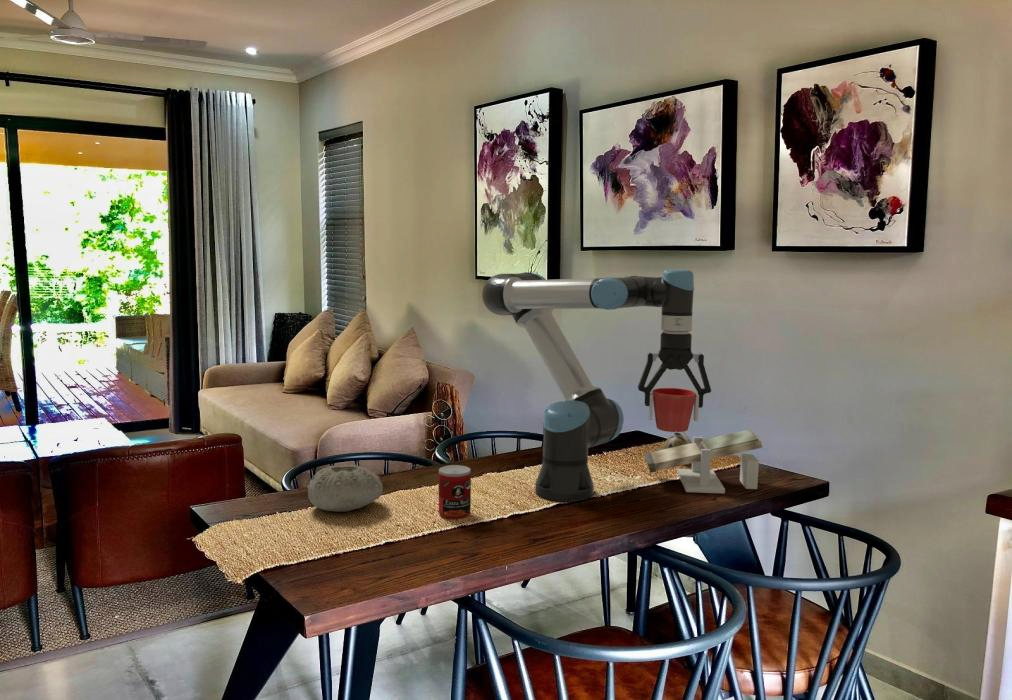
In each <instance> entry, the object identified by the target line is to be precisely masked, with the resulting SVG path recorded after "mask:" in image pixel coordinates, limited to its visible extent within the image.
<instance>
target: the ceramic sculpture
mask: <svg viewBox="0 0 1012 700" xmlns="http://www.w3.org/2000/svg"><path fill="white" fill-rule="evenodd" d="M690 443H692V441H691V439H690V437H689V436H688V435H687V434H686V431H685V432H673V434H672V435H671V436H670V437H668V438H667V439H666V440H665V441H664V444H663V446H662V447H658V448H657V449H656V450H655V451H659V450H663V449H668V448H672V447H677V446H681V445H686V444H690Z"/></svg>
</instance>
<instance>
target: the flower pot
mask: <svg viewBox="0 0 1012 700" xmlns="http://www.w3.org/2000/svg"><path fill="white" fill-rule="evenodd" d="M651 392H652V393H653V411H654V417H655V418H654V419H655V425H656V428H657V430H659V431H663V432H667V433H682V432H685V433H686V431H688V430H689V426H690V423H691V418H692V415H693V411H694V401H695V396H696V394H697V392H696V391H694V390H690V389H686V388H679V387H659V388H653V389H652V391H651Z"/></svg>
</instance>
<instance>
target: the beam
mask: <svg viewBox="0 0 1012 700" xmlns="http://www.w3.org/2000/svg"><path fill="white" fill-rule="evenodd" d="M762 448H763V444H762V440H761V439H760V437H758V435H756V434H755V433H754V432H753V431H752V430H751V429H745V430H741V431H735V432H733V433H732V432H731V433H728V434H722V435H719V436H714V437H710V438H705V439H704V438H703V441H697V442H695V443H693V442H691V443H690V444H686V445H681V446H677V447H672V448H668V449H663V450H659V451H656V450H655V451H647V452H644V457H645V461H646V464H647V467H648V469H649V473H650V474H651V473H656V472H657V471H661V470H666V469H671V468H675V467H680V466H684V465H689V464H692V463H695V462H699V461H701V449H711V460H712V459H716V458H721V457H725V456H731V455H736V454H741V453H746V452H750V451H753V450H754V451H755V450H758V449H762Z"/></svg>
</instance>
